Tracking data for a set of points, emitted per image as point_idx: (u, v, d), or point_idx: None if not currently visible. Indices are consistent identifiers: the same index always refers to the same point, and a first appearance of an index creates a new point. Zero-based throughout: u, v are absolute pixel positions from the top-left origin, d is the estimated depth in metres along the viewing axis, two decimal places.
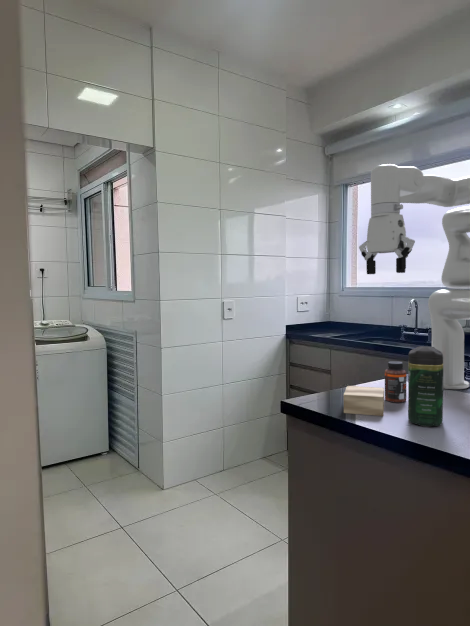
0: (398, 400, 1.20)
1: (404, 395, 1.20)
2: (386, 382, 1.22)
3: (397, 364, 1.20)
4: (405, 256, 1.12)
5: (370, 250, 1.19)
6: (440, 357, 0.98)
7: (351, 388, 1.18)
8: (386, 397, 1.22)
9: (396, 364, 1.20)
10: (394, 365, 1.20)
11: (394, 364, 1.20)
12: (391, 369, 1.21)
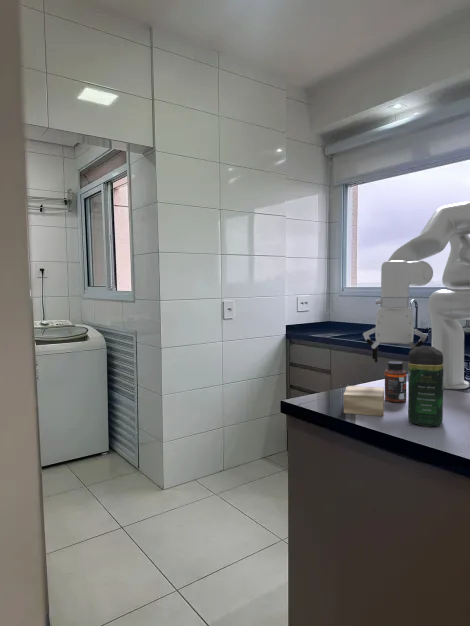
0: (398, 400, 1.20)
1: (404, 395, 1.20)
2: (386, 382, 1.22)
3: (397, 364, 1.20)
4: None
5: None
6: (440, 357, 0.98)
7: (351, 388, 1.18)
8: (386, 397, 1.22)
9: (396, 364, 1.20)
10: (394, 365, 1.20)
11: (394, 364, 1.20)
12: (391, 369, 1.21)
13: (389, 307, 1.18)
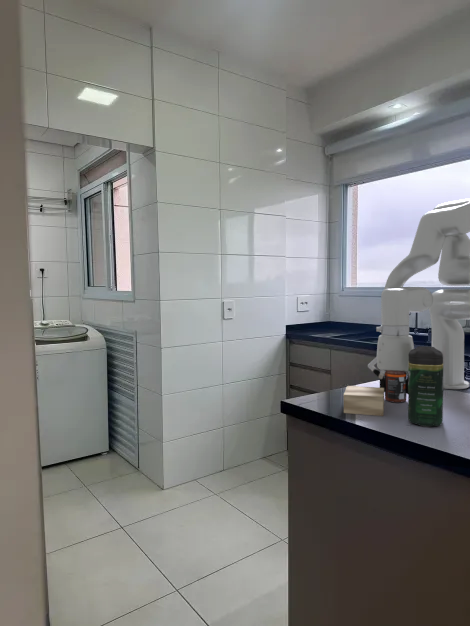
0: (398, 400, 1.20)
1: (404, 395, 1.20)
2: (386, 382, 1.22)
3: None
4: None
5: None
6: (440, 357, 0.98)
7: (351, 388, 1.18)
8: (386, 397, 1.22)
9: None
10: None
11: None
12: None
13: (390, 335, 1.18)
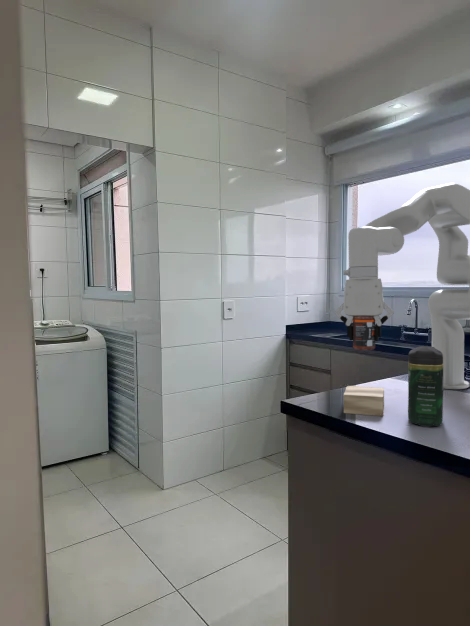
0: (366, 347, 1.11)
1: (372, 342, 1.12)
2: (353, 328, 1.13)
3: None
4: None
5: None
6: (440, 357, 0.98)
7: (351, 388, 1.18)
8: (354, 345, 1.14)
9: None
10: None
11: None
12: None
13: (357, 277, 1.10)
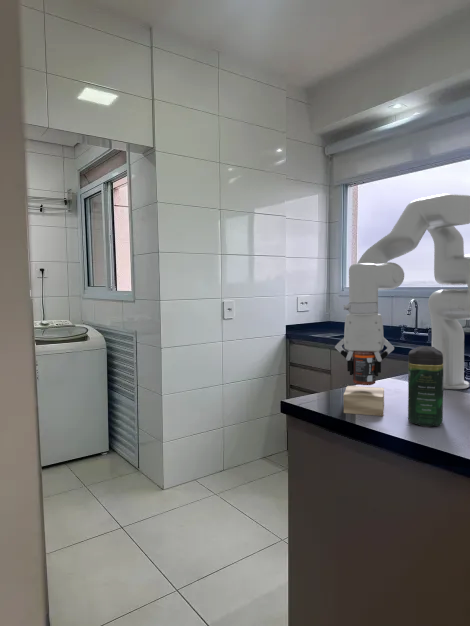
0: (366, 382, 1.12)
1: (373, 377, 1.12)
2: (354, 363, 1.14)
3: None
4: None
5: None
6: (440, 357, 0.98)
7: (351, 388, 1.18)
8: (354, 380, 1.14)
9: None
10: None
11: None
12: None
13: (357, 313, 1.11)
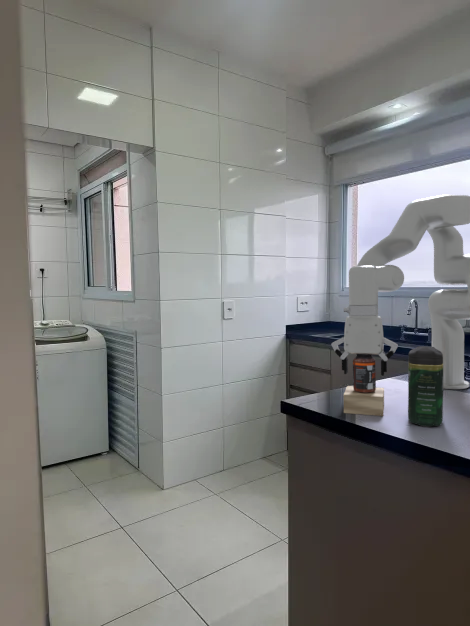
0: (366, 390, 1.12)
1: (373, 385, 1.12)
2: (354, 371, 1.14)
3: None
4: None
5: None
6: (440, 357, 0.98)
7: (351, 388, 1.18)
8: (354, 387, 1.14)
9: None
10: None
11: None
12: (359, 357, 1.13)
13: (357, 316, 1.11)
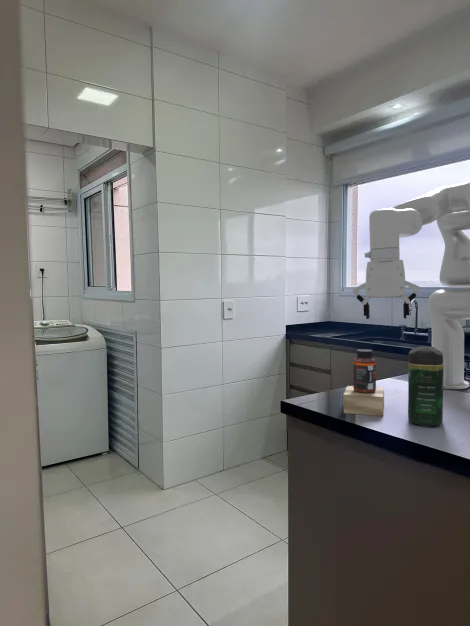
0: (367, 390, 1.12)
1: (373, 385, 1.12)
2: (354, 371, 1.14)
3: (366, 352, 1.12)
4: None
5: None
6: (440, 357, 0.98)
7: (351, 388, 1.18)
8: (354, 387, 1.14)
9: (365, 352, 1.12)
10: (363, 353, 1.13)
11: (363, 352, 1.13)
12: (360, 357, 1.13)
13: (378, 259, 1.11)
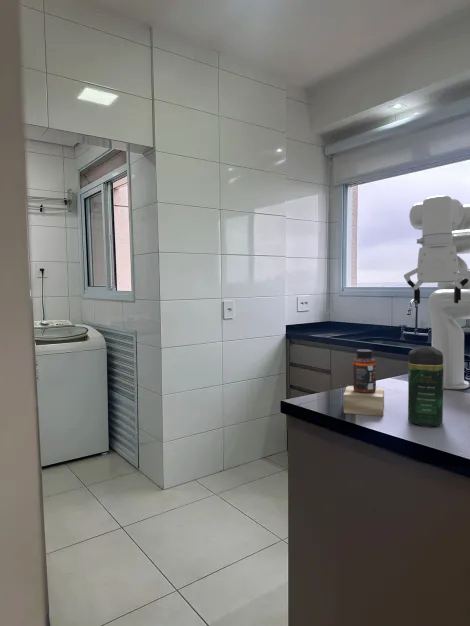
0: (367, 390, 1.12)
1: (373, 385, 1.12)
2: (354, 371, 1.14)
3: (366, 352, 1.12)
4: (413, 288, 1.19)
5: None
6: (440, 357, 0.98)
7: (351, 388, 1.18)
8: (354, 387, 1.14)
9: (365, 352, 1.12)
10: (363, 353, 1.13)
11: (363, 352, 1.13)
12: (360, 357, 1.13)
13: (432, 244, 1.14)
